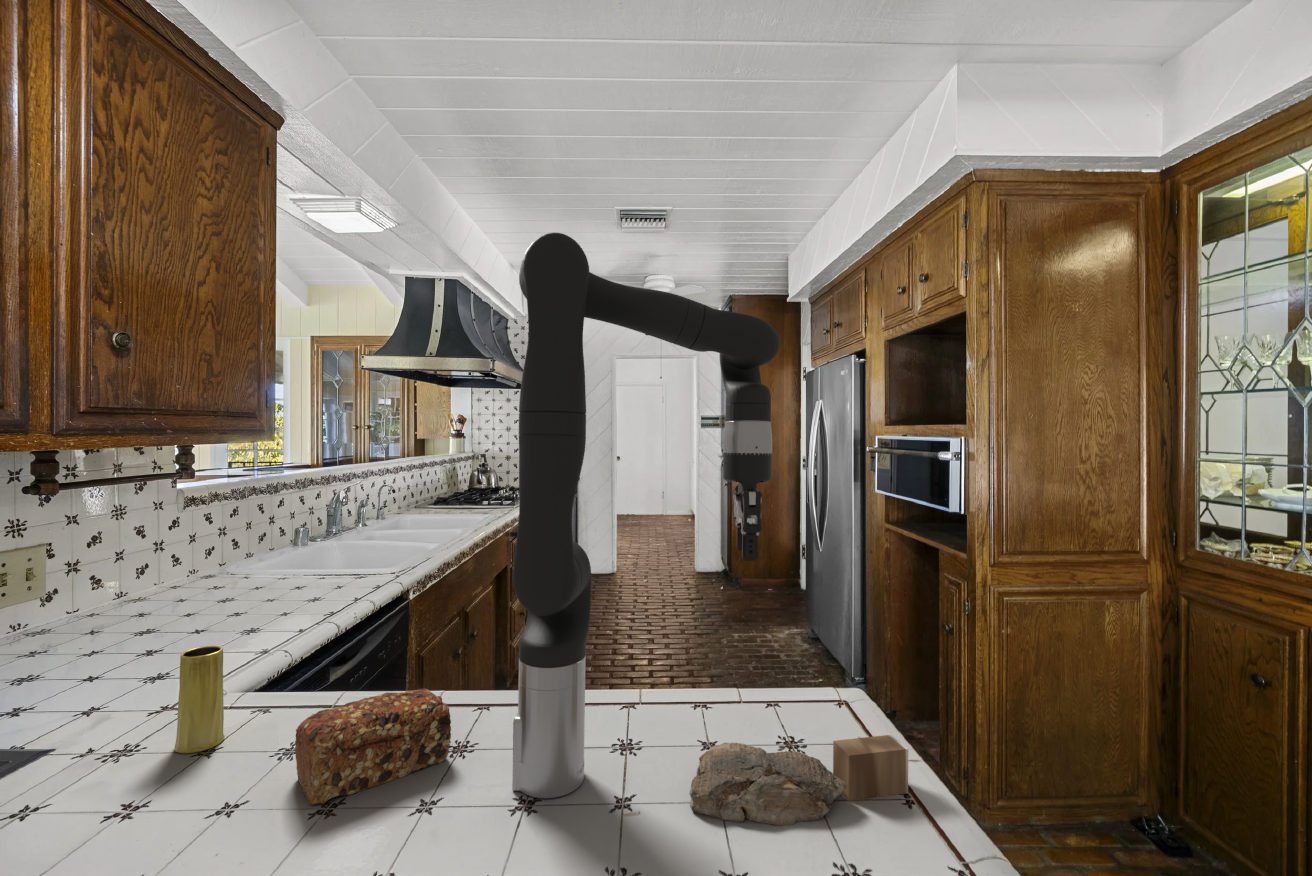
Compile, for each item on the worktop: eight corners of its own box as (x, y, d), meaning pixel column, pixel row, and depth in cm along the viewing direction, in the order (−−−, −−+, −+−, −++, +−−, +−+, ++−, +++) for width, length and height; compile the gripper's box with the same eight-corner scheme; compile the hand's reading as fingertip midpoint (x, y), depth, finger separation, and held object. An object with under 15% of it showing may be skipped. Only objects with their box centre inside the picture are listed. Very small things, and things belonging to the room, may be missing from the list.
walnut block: (848, 800, 78) (908, 792, 80) (848, 755, 78) (908, 748, 80) (833, 783, 82) (890, 776, 84) (833, 740, 82) (890, 734, 84)
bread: (309, 813, 74) (311, 734, 74) (292, 777, 82) (293, 705, 82) (453, 762, 86) (454, 694, 87) (426, 735, 94) (427, 672, 95)
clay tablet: (840, 778, 84) (701, 758, 88) (841, 744, 84) (702, 726, 88) (852, 845, 70) (687, 819, 74) (853, 805, 70) (688, 780, 74)
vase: (175, 758, 86) (177, 661, 86) (173, 742, 91) (175, 650, 91) (226, 745, 90) (228, 652, 90) (222, 730, 95) (224, 641, 95)
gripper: (779, 451, 84) (778, 564, 84) (765, 450, 98) (764, 547, 98) (726, 450, 84) (725, 563, 84) (720, 450, 99) (719, 546, 98)
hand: (746, 555), depth 91 cm, fingers open, 8 cm apart
